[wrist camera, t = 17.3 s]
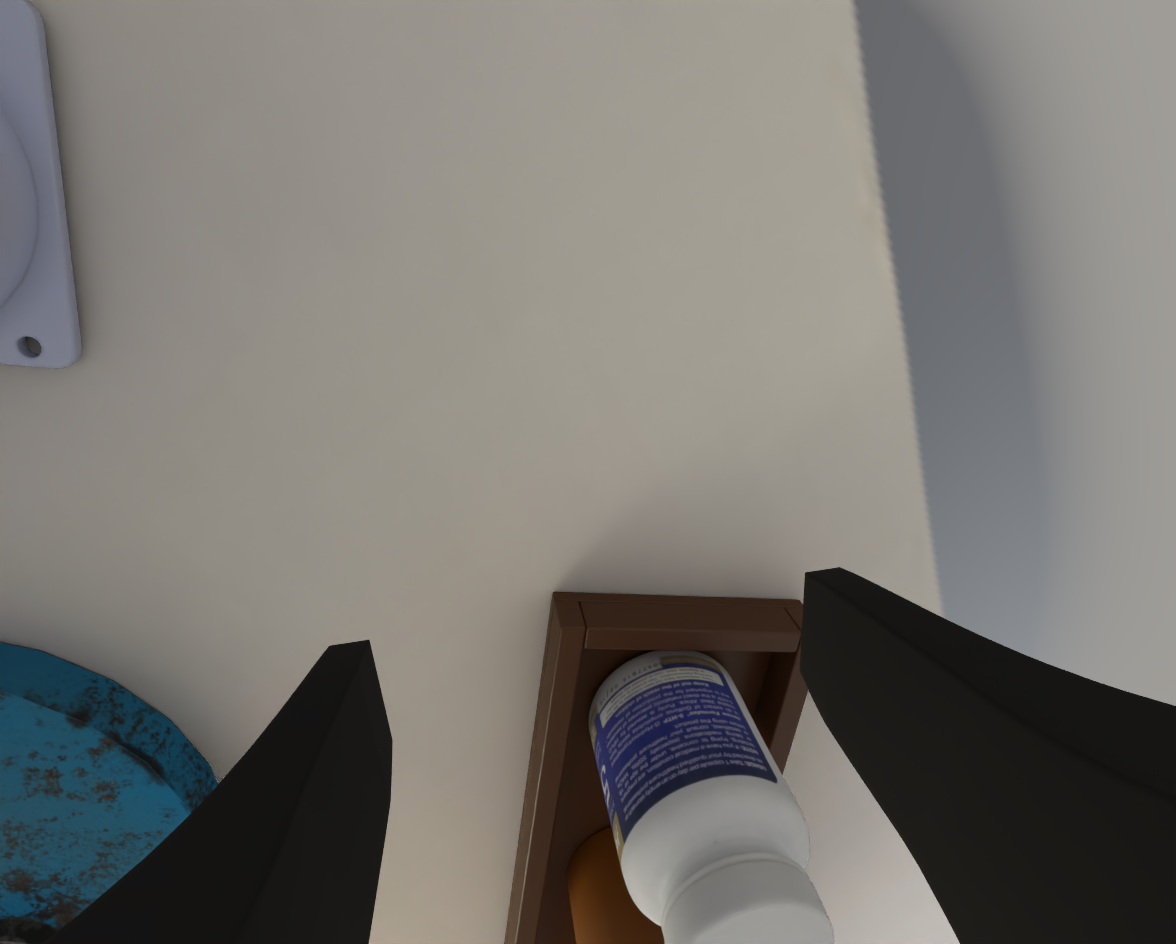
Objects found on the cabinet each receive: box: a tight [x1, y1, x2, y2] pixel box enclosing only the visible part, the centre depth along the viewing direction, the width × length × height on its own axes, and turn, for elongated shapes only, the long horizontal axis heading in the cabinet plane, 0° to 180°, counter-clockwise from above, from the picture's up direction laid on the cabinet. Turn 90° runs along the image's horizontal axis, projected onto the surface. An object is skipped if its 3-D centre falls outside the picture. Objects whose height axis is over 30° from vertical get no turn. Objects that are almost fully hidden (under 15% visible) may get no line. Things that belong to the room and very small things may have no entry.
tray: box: [504, 592, 808, 944], centre depth 28 cm, size 9×24×2 cm, turn 172°
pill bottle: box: [589, 650, 834, 944], centre depth 21 cm, size 5×5×9 cm
